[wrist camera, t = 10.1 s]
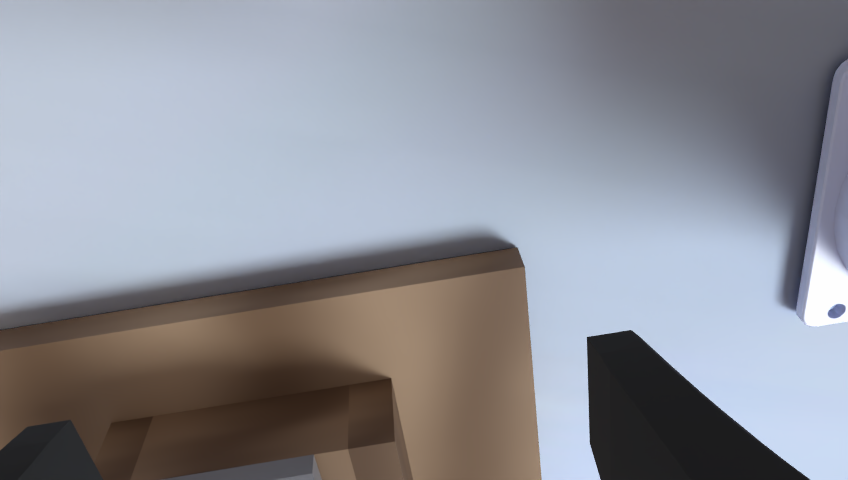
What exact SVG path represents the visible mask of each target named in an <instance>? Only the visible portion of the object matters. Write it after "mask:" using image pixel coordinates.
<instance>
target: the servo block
mask: <svg viewBox="0 0 848 480" xmlns="http://www.w3.org/2000/svg"><path fill="white" fill-rule="evenodd" d="M161 480H322V479H321V476H320V472H319V469H318V466H317V463H316V460H315V457H314V454H313V455H307V456H301V457H295V458H289V459H283V460H277V461H271V462H265V463H258V464H252V465H246V466H240V467H234V468H228V469H222V470H216V471H210V472H204V473H198V474H191V475H185V476H179V477H173V478H167V479H161Z"/></svg>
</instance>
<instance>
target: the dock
mask: <svg viewBox="0 0 848 480" xmlns="http://www.w3.org/2000/svg"><path fill="white" fill-rule="evenodd" d="M66 420H71V421H72V423H73V425H74V427H75V428H76V430H77V432H78V434H79V436H80V438H81V440H82V441H83V443H84V445H85V447H86V449H87V451H88V452H89V454H90V456H91V458H92V460H93V462H94V464H95V465H96V467H97V469H98V471H99V473H100V475H101V477H102V478H103V480H161V479H167V478H173V477H179V476H185V475H191V474H198V473H204V472H210V471H216V470H222V469H228V468H234V467H240V466H246V465H252V464H258V463H265V462H271V461H277V460H283V459H289V458H295V457H301V456H307V455H313V454H314V457H315V460H316V463H317V466H318V469H319V472H320V476H321V479H322V480H541V467H540V455H539V442H538V429H537V417H536V404H535V392H534V379H533V366H532V354H531V341H530V329H529V316H528V303H527V291H526V278H525V267H524V264H523V261H522V259H521V256H520V253H519V251H518V248H510V249H504V250H498V251H492V252H485V253H479V254H473V255H467V256H460V257H454V258H448V259H442V260H435V261H429V262H423V263H417V264H410V265H404V266H398V267H392V268H386V269H379V270H373V271H367V272H361V273H354V274H348V275H342V276H336V277H329V278H323V279H317V280H311V281H304V282H298V283H292V284H286V285H279V286H273V287H267V288H261V289H254V290H248V291H242V292H236V293H229V294H223V295H217V296H211V297H204V298H198V299H192V300H186V301H180V302H173V303H167V304H161V305H155V306H148V307H142V308H136V309H130V310H123V311H117V312H111V313H105V314H98V315H92V316H86V317H80V318H73V319H67V320H61V321H55V322H48V323H42V324H36V325H30V326H23V327H17V328H11V329H5V330H0V450H1V449H2V448H3V447H5V446H6V445H7V444H8V443H9V442H10V441H11V440H12V439H14V438H15V437H16V436H17V435H18V434H19V433H21V432H22V431H23V430H24V429H25V428H26V427H28V426H34V425H41V424H47V423H53V422H59V421H66Z"/></svg>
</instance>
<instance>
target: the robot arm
mask: <svg viewBox="0 0 848 480" xmlns="http://www.w3.org/2000/svg"><path fill="white" fill-rule="evenodd" d="M836 304H837V305H836ZM833 305H836V306H835V307H834V308H833V309H831V310H829V309H830V308H831V307H832V306H833ZM796 314H797V316H798V317H799V318H800V320H801V321H802V322H803V323H804V324H805V325H807V326H810V327H817V326H823V325H829V324H835V323H842V322H848V59H847V60H846V61H844V62H843V63H842V64H841V65H840V66H839V67H838V69H837V70H836V72H835V75H834V78H833V82H832V88H831V95H830V101H829V107H828V114H827V120H826V126H825V132H824V139H823V145H822V151H821V157H820V164H819V170H818V176H817V182H816V189H815V195H814V201H813V207H812V214H811V220H810V226H809V232H808V239H807V245H806V251H805V257H804V264H803V270H802V276H801V282H800V289H799V295H798V301H797V307H796ZM587 354H588V391H589V428H590V445H591V448H592V452H593V455H594V458H595V462H596V465H597V468H598V472H599V475H600V479H601V480H810V479H809V478H807V477H806V476H805V475H803V474H802V473H800V472H799V471H798V470H796V469H795V468H794V467H792V466H791V465H790V464H788V463H787V462H786V461H784V460H783V459H782V458H781V457H779V456H778V455H777V454H775V453H774V452H773V451H772V450H770V449H769V448H768V447H766V446H765V445H764V444H763V443H761V442H760V441H759V440H758V439H756V438H755V437H754V436H753V435H752V434H750V433H749V432H748V431H747V430H745V429H744V428H743V427H742V426H741V425H739V424H738V423H737V422H736V421H734V420H733V419H732V418H731V417H730V416H728V415H727V414H726V413H725V412H723V411H722V410H721V409H720V408H719V407H718V406H716V405H715V404H714V403H713V402H712V401H710V400H709V399H708V398H707V397H706V396H705V395H704V394H702V393H701V392H700V391H699V390H698V389H697V388H696V387H694V386H693V385H692V384H691V383H690V382H689V381H688V380H686V379H685V378H684V377H683V376H682V375H681V374H680V373H679V372H678V371H676V370H675V369H674V368H673V367H672V366H671V365H670V364H669V363H668V362H666V361H665V360H664V359H663V358H662V357H661V356H660V355H659V354H658V353H657V352H656V351H654V350H653V349H652V348H651V347H650V346H649V345H648V344H647V343H646V342H645V341H644V340H643V339H641V338H640V337H639V336H638V335H637V334H635V333H634V332H633V331H631V330H629V331H623V332H616V333H610V334H604V335H598V336H591V337H587ZM0 480H103V478H102V477H101V475H100V473H99V471H98V469H97V467H96V465H95V464H94V462H93V460H92V458H91V456H90V454H89V452H88V451H87V449H86V447H85V445H84V443H83V441H82V440H81V438H80V436H79V434H78V432H77V430H76V428H75V427H74V425H73V423H72V421H71V420H66V421H59V422H53V423H47V424H41V425H34V426H28V427H26V428H25V429H24V430H23V431H22V432H21V433H19V434H18V435H17V436H16V437H15V438H14V439H12V440H11V441H10V442H9V443H8V444H7V445H6V446H5V447H3V448H2V449H1V450H0Z"/></svg>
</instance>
